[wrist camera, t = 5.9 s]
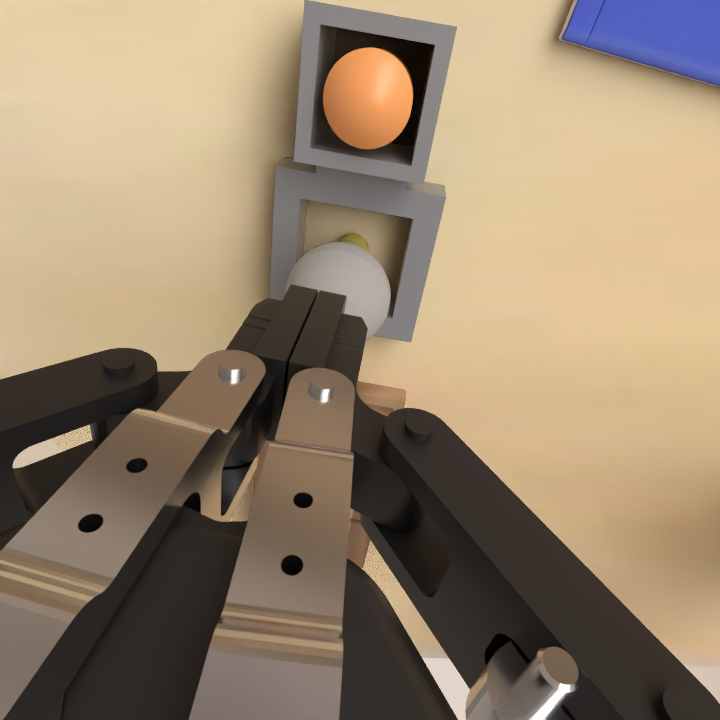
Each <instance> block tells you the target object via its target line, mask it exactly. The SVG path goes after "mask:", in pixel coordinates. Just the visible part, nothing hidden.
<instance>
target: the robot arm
mask: <svg viewBox="0 0 720 720" xmlns="http://www.w3.org/2000/svg"><path fill="white" fill-rule="evenodd" d="M346 299H347V296H346V295H341V294H336V293H331V292H326V291H322V290H320V291H318V290H316V289H312V288H307V287H302V286H297V285H293V284H291V285H290V287H289V289H288V291H287V292H286V294H285V296H284V298H283V300H282V301H281V300H276V299H271V298H267V299H265V300H263V301H262V302H260V303H258V304H256V305H255V306H254V307H253V309H252V310H251V312H250V313H249V315H248V318H246V319H245V321H244V322H243V325H242V326H241V327H240V329H239V330H238V332H237V333H236V335H235V336H234V338H233V339H232V341H231V342H230V344H229V346H228V347H227V349H226V350H222V351H217V352H214V353H211V354H209V355H207V356H206V357H204V358H203V359H202V360H201V361H200V362H199V363H198V365H197V366H196V367H195V368H194V369H193V370H192V371H181V372H157V363H156V360H155V359H154V358H153V357H152V356H151V355H150V354H148V353H146V352H144V351H141V350H137V349H131V348H116V349H109V350H105V351H101V352H98V353H94V354H90V355H87V356H83V357H80V358H76V359H72V360H69V361H65V362H62V363H58V364H55V365H51V366H47V367H44V368H40V369H37V370H33V371H29V372H26V373H22V374H19V375H15V376H11V377H8V378H4V379H1V380H0V720H458V719H457V717H456V715H455V714H454V712H453V710H452V709H451V707H450V705H449V704H448V702H447V700H446V698H445V697H444V695H443V693H442V692H441V690H440V688H439V686H438V685H437V683H436V681H435V680H434V678H433V676H432V675H431V673H430V671H429V669H428V668H427V666H426V664H425V662H424V661H423V659H422V657H421V656H420V654H419V652H418V650H417V649H416V647H415V645H414V644H413V642H412V640H411V638H410V637H409V635H408V633H407V632H406V630H405V628H404V627H403V625H402V623H401V621H400V620H399V618H398V616H397V615H396V613H395V611H394V609H393V608H392V606H391V604H390V603H389V601H388V599H387V598H386V596H385V595H384V593H383V592H382V591H381V589H380V588H379V587H378V585H377V584H376V583H375V582H374V581H373V580H372V579H371V577H370V576H369V575H368V574H367V573H366V572H365V571H364V570H362V569H361V568H360V567H359V566H358V565H356V564H355V563H354V562H353V561H351V560H349V559H348V558H347V547H348V533H349V518H350V508H351V509H353V510H355V511H356V512H358V513H360V522H361V525H362V527H363V529H364V531H365V532H366V534H367V535H368V537H369V538H370V540H371V541H372V543H373V544H374V546H375V547H376V549H377V550H378V552H379V553H380V555H381V556H382V558H383V559H384V561H385V562H386V564H387V565H388V567H389V568H390V570H391V571H392V573H393V574H394V576H395V577H396V579H397V580H398V582H399V583H400V585H401V586H402V588H403V589H404V591H405V592H406V594H407V595H408V597H409V598H410V600H411V601H412V603H413V604H414V606H415V607H416V609H417V610H418V612H419V613H420V615H421V616H422V618H423V619H424V621H425V622H426V624H427V625H428V627H429V628H430V630H431V631H432V633H433V634H434V636H435V637H436V639H437V640H438V642H439V643H440V645H441V646H442V648H443V649H444V651H445V652H446V654H447V655H448V657H449V658H450V660H451V661H452V663H453V664H454V666H455V667H456V669H457V670H458V672H459V673H460V675H461V676H462V678H463V679H464V681H465V682H466V684H467V685H468V687H469V688H470V692H469V694H468V697H467V701H466V720H720V704H719V703H718V701H717V700H716V699H715V697H714V696H713V695H712V694H711V693H710V692H709V691H708V690H707V689H706V688H705V687H704V686H703V685H702V684H701V683H700V682H699V681H698V680H697V679H696V678H695V677H694V676H693V674H692V673H691V672H690V671H689V670H687V668H686V667H685V666H684V665H683V664H682V663H681V662H680V661H679V660H678V659H677V658H676V657H675V656H674V655H673V654H672V653H671V652H670V651H669V650H668V649H667V648H666V647H665V646H664V645H663V644H662V643H661V642H660V641H659V640H658V639H657V638H656V637H655V636H654V635H653V634H652V633H651V632H650V631H649V630H648V629H647V628H646V627H645V626H644V625H643V624H642V623H641V622H640V621H639V620H638V619H637V618H636V617H635V616H634V615H633V614H632V613H631V612H630V610H629V609H628V608H627V607H626V606H625V605H624V604H623V603H622V602H621V601H620V600H619V599H618V598H617V597H616V596H615V595H614V594H613V593H612V592H611V591H610V590H609V589H608V588H607V587H606V586H605V585H604V584H603V583H602V582H601V581H600V580H599V579H598V578H597V577H596V576H595V575H594V574H593V573H592V572H591V571H590V570H589V569H588V568H587V567H586V566H585V565H584V564H583V563H582V562H581V561H580V560H579V559H578V558H577V557H576V556H575V555H574V554H573V553H572V552H571V551H570V550H569V549H568V548H567V547H566V546H565V544H564V543H563V542H562V541H561V540H560V539H559V538H558V537H557V536H556V535H555V534H554V533H553V532H552V531H551V530H550V529H549V528H548V527H547V526H546V525H545V524H544V523H543V522H542V521H541V520H540V519H539V518H538V517H537V516H536V515H535V514H534V513H533V512H532V511H531V510H530V509H529V508H528V507H527V506H526V505H525V504H524V503H523V502H522V501H521V500H520V499H519V498H518V497H517V496H516V495H515V494H514V493H513V492H512V491H511V490H510V489H509V488H508V487H507V486H506V485H505V484H504V483H503V482H502V481H501V480H500V478H499V477H498V476H497V475H496V474H495V473H494V472H493V471H492V470H491V469H490V468H489V467H488V466H487V465H486V464H485V463H484V462H483V461H482V460H481V459H480V458H479V457H478V456H477V455H476V454H475V453H474V452H473V451H472V450H471V449H470V448H469V447H468V446H467V445H466V444H465V443H464V442H463V441H462V440H461V439H460V438H459V437H458V436H457V435H456V434H455V433H454V432H453V431H452V430H451V429H450V428H449V427H448V426H447V425H446V424H445V423H444V422H443V421H442V420H441V419H440V418H438V417H437V416H435V415H433V414H431V413H429V412H427V411H424V410H420V409H415V408H402V409H398V410H395V411H393V412H391V413H390V414H389V415H388V416H385V415H383V414H381V413H379V412H377V411H375V410H373V409H371V408H370V407H368V406H367V405H366V404H365V403H364V402H363V401H362V400H361V398H360V397H359V395H358V393H357V389H356V386H357V380H358V375H359V370H360V365H361V360H362V355H363V350H364V345H365V340H366V335H367V330H368V328H367V326H366V324H365V322H364V320H363V318H362V317H358V316H353V315H348V314H344V311H345V305H346ZM89 424H90V428H91V433H92V439H93V440H92V441H89V442H86V443H84V444H81V445H79V446H76V447H74V448H71V449H68V450H66V451H63V452H61V453H58V454H56V455H53V456H50V457H48V458H45V459H43V460H40V461H38V462H35V463H33V464H30V465H28V466H25V467H21V468H15V469H14V468H12V465H13V461H14V459H15V457H16V456H17V455H18V454H19V453H20V452H22V451H23V450H24V449H26V448H28V447H29V446H32V445H35V444H37V443H40V442H43V441H46V440H48V439H51V438H54V437H57V436H59V435H62V434H65V433H67V432H70V431H73V430H76V429H78V428H81V427H84V426H86V425H89ZM265 440H267V441H270V443H269V447H268V450H267V454H266V457H265V461H264V464H263V468H262V472H261V475H260V479H259V482H258V486H257V490H256V493H255V497H254V500H253V504H252V508H251V511H250V515H249V519H248V521H242V522H229V521H230V519H231V517H232V515H233V513H234V511H235V510H236V508H237V506H238V504H239V502H240V500H241V498H242V496H243V494H244V492H245V490H246V488H247V486H248V484H249V482H250V480H251V478H252V476H253V474H254V472H255V470H256V468H257V466H258V461H259V454H260V452H261V450H262V448H263V445H264V443H265Z"/></svg>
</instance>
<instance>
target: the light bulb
mask: <svg viewBox="0 0 720 720" xmlns="http://www.w3.org/2000/svg"><path fill="white" fill-rule="evenodd" d="M291 284H293V285H297V286H302V287H307V288H312V289H316V290H318V291H320V290H322V291H326V292H331V293H336V294H341V295H346V296H347V299H346V305H345V311H344V314H348V315H353V316H358V317H362V318H363V320H364V322H365V324H366V326H367V328H368V330H367V335H366V340H365V341H367V340H368V339H369V338H371V337H372V336H373V335H374V334H375V333H376V332H377V331H378V330H379V329H380V327H381V326H382V325H383V323H384V321H385V319H386V317H387V314H388V310H389V305H390V298H391V291H390V285H389V281H388V278H387V276H386V273H385V271H384V269H383V267H382V266H381V264H380V263H379V261H378V260H377V259H376V258H375V257H374V256H373V255H372V254H371V253H369V249H368V245H367V243H366V241H365V240H364V239H363V238H362V237H361V236H359V235H356V234H349V235H346V236H344V237H343V238H341V240H340V241H339V242H330V243H326V244H322V245H320V246H317V247H315V248H314V249H312V250H310V251H308V252H307V253H306V254H304V255H303V256H302V257H301V258H300V259H299V260H298V261H297V262H296V264H295V265H294V267H293V269H292V271H291V273H290V275H289V277H288V280H287V283H286V287H285V294H286V292H287V291H288V289H289V287H290V285H291Z"/></svg>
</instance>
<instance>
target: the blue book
mask: <svg viewBox="0 0 720 720" xmlns="http://www.w3.org/2000/svg"><path fill="white" fill-rule="evenodd" d="M558 39H559V40H561V41H564V42H568V43H571V44H575V45H578V46H581V47H584V48H587V49H591V50H594V51H597V52H601V53H604V54H607V55H611V56H614V57H618V58H621V59H624V60H628V61H631V62H635V63H638V64H641V65H645V66H648V67H652V68H655V69H658V70H662V71H665V72H669V73H672V74H675V75H679V76H682V77H686V78H689V79H692V80H696V81H699V82H703V83H706V84H710V85H713V86H716V87H720V0H573V3H572V5H571V8H570V10H569V13H568V15H567V18H566V20H565V23H564V25H563V28H562V31H561V33H560V36H559V38H558Z"/></svg>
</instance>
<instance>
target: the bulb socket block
mask: <svg viewBox="0 0 720 720" xmlns="http://www.w3.org/2000/svg"><path fill="white" fill-rule="evenodd" d="M337 27H338V28H344V29H349V30H355V31H360V32H366V33H372V34H377V35H383V36H389V37H394V38H400V39H405V40H411V41H417V42H422V43H428V44H433V46H432V51H431V56H430V61H429V66H428V72H427V77H426V82H425V87H424V92H423V97H422V103H421V108H420V113H419V118H418V123H417V128H416V133H415V139H414V144H413V147H408V146H402V145H397V144H391V143H388V144H387V145H385V146H382V147H379V148H375V149H360V148H356V147H353V146H351V145H349V144H347V143H346V142H344V141H343V140H342V139H340V138H339V137H338V136H337V135H336V134H335V133H330V132H327V123H328V120H327V118H326V115H325V111H324V105H323V92H324V86H325V82H326V79H327V77H328V74H329V72H330V71H331V69H332V67H333V63H334V53H335V43H336V33H337ZM456 29H457V27H455V26H449V25H444V24H438V23H432V22H427V21H421V20H416V19H410V18H404V17H399V16H393V15H387V14H382V13H376V12H370V11H365V10H359V9H354V8H348V7H342V6H337V5H331V4H325V3H320V2H314V1H308V0H305V1H304V16H303V31H302V46H301V61H300V76H299V91H298V106H297V121H296V136H295V151H294V159H293V158H288V157H286V158H284V159H283V160H282V161H281V162H280V163H279V164H278V165H276V166H275V188H274V209H273V230H272V251H271V272H270V293H269V298H271V299H276V300H281V301H282V300H283V298H284V296H285V287H286V283H287V280H288V277H289V275H290V273H291V271H292V269H293V267H294V265H295V264H296V262H297V261H298V260H299V259H300V258H301V257H302V256H303V249H304V237H305V225H306V214H307V202H308V200H311V201H317V202H322V203H328V204H334V205H339V206H345V207H350V208H356V209H361V210H367V211H373V212H378V213H384V214H389V215H395V216H400V217H406V218H411V223H410V228H409V233H408V237H407V242H406V247H405V252H404V257H403V261H402V266H401V271H400V276H399V281H398V285H397V290H396V295H395V300H394V301H391V300H390V305H389V310H388V314H387V317H386V319H385V321H384V323H383V325H382V326H381V327H380V329H379V330H378V331H377V332H376V333H375V334H374V335H373V336H378V337H384V338H389V339H395V340H400V341H406V342H411V339H412V335H413V331H414V327H415V323H416V319H417V315H418V311H419V306H420V302H421V298H422V294H423V290H424V286H425V282H426V278H427V273H428V269H429V265H430V261H431V257H432V253H433V249H434V245H435V240H436V236H437V232H438V228H439V224H440V220H441V216H442V212H443V207H444V203H445V199H446V193H445V187H444V185H438V184H433V183H427V182H424V179H425V174H426V169H427V165H428V160H429V155H430V151H431V146H432V141H433V137H434V132H435V127H436V123H437V118H438V113H439V109H440V104H441V99H442V94H443V90H444V85H445V80H446V76H447V71H448V66H449V62H450V57H451V52H452V48H453V43H454V38H455V34H456Z"/></svg>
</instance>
